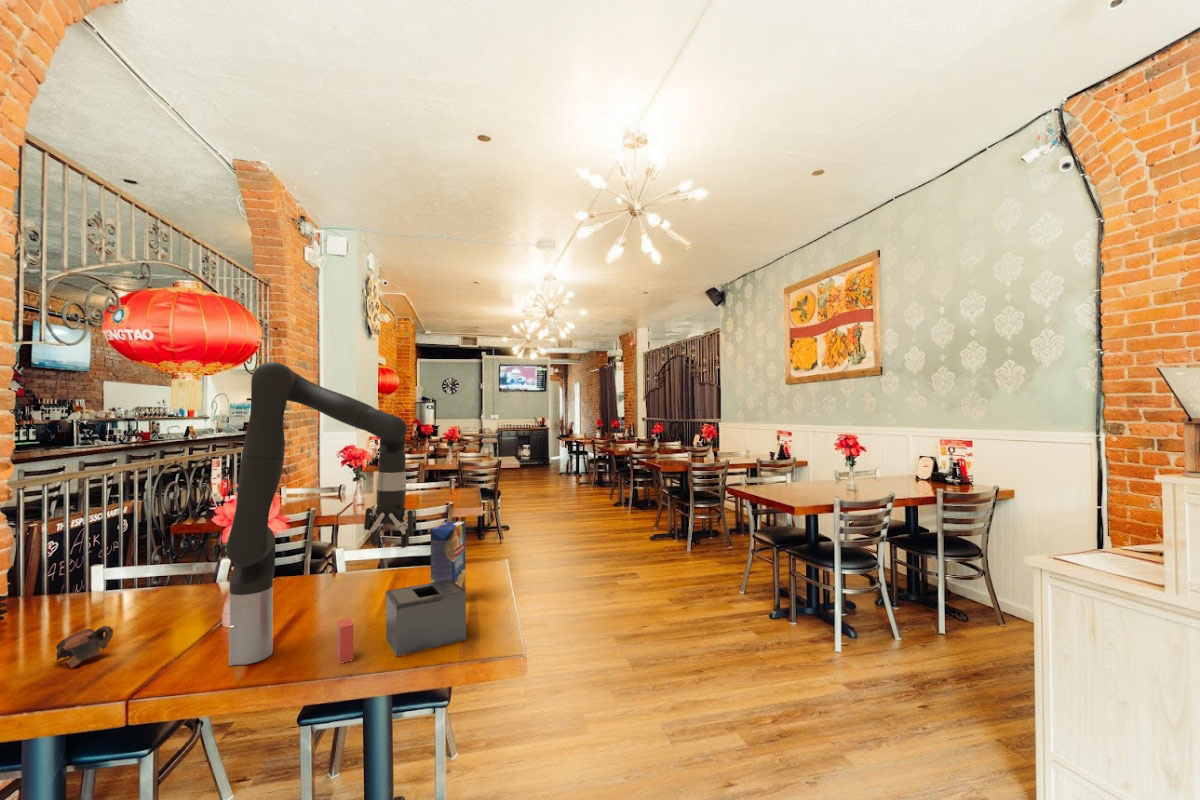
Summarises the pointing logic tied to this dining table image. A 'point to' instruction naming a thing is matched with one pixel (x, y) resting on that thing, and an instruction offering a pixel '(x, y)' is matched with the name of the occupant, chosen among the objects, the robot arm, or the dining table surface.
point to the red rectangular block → (345, 640)
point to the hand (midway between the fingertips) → (389, 546)
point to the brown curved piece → (83, 645)
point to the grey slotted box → (425, 616)
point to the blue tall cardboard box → (448, 553)
